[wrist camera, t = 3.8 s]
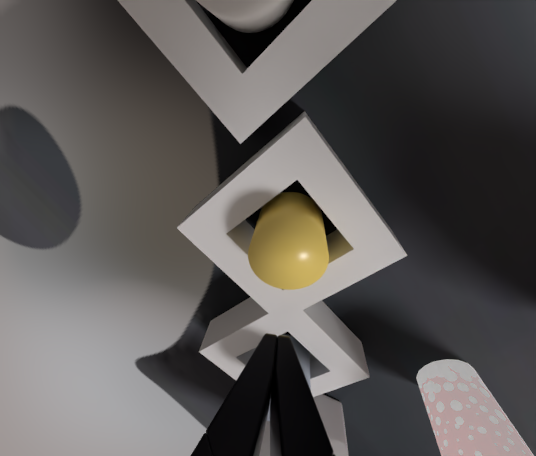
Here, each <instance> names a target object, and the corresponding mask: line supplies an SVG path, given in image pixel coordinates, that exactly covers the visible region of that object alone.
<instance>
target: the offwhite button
mask: <svg viewBox="0 0 536 456" xmlns="http://www.w3.org/2000/svg"><path fill="white" fill-rule="evenodd" d="M196 1H197V2H198V3H200V4H201V5H202V6H203V7H205V8H206V9H207V10H208V11H210V12H211V13H212V14H213V15H215V16H216V17H217V18H218V19H220V20H221V21H222V22H223V23H225V24H226V25H228V26H229V27H231V28H233V29H235V30H237V31H240V32H245V33H256V32H261V31H264V30H266V29H268V28H270V27H272V26H273V25H275V24H276V23H278V22H279V21H280V20H281V19H282V18H283V17H284V15H285V14H286V13H287V12H288V10H289V8H290V7H291V5H292V3H293V1H294V0H196Z"/></svg>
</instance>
